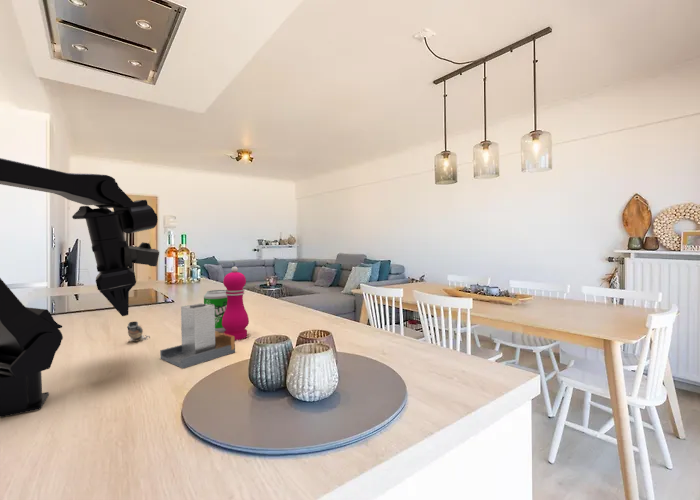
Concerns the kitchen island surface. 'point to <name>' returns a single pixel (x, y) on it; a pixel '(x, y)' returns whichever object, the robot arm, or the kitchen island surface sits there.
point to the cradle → (222, 348)
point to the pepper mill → (235, 305)
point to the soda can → (217, 306)
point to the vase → (135, 331)
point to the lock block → (197, 328)
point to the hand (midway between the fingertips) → (124, 309)
